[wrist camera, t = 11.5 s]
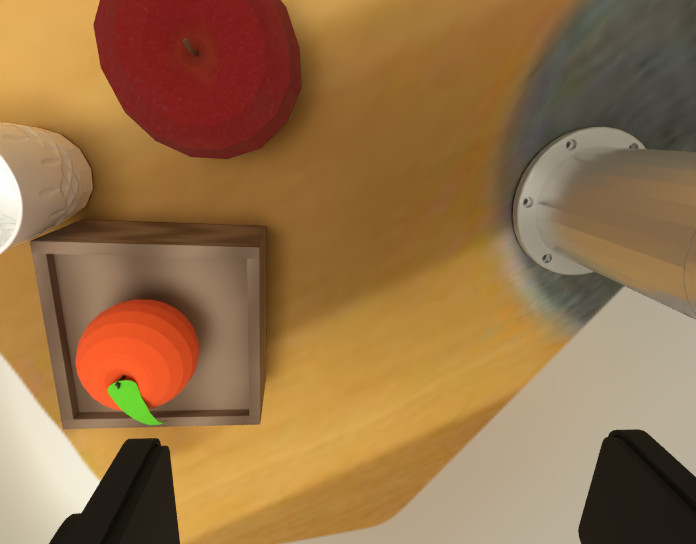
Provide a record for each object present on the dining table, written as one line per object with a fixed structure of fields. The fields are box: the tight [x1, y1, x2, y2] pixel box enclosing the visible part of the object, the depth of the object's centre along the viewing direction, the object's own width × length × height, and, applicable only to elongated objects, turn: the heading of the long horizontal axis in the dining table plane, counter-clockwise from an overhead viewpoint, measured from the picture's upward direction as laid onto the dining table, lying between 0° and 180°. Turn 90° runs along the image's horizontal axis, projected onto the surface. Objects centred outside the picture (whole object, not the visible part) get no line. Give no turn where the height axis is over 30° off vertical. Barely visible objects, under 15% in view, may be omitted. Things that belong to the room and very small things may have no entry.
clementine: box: [76, 299, 199, 425], centre depth 27 cm, size 8×7×7 cm
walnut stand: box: [30, 220, 266, 429], centre depth 33 cm, size 14×14×7 cm
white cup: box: [0, 122, 93, 255], centre depth 27 cm, size 8×8×10 cm
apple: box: [94, 0, 301, 159], centre depth 25 cm, size 11×11×12 cm
